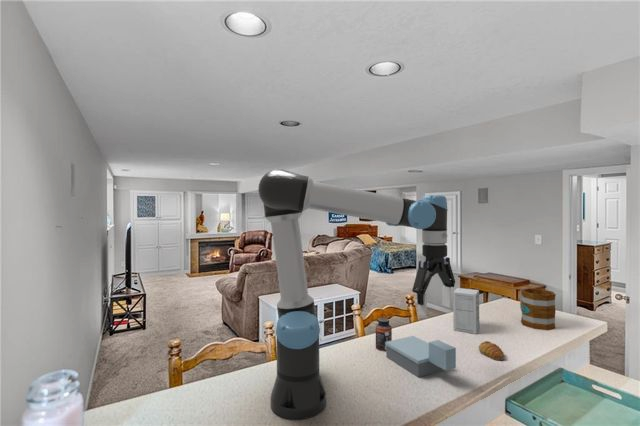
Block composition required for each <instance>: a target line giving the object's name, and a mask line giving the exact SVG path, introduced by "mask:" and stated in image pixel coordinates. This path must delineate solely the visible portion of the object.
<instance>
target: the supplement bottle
mask: <svg viewBox="0 0 640 426" xmlns="http://www.w3.org/2000/svg"><path fill="white" fill-rule="evenodd" d="M377 322H378V323H377V324H376V325H375V350H377V351H379V352H386V345H385V342H387V341H392V340H393V339H392V337H393V336H392V334H393V332H392V331H393V330H392V329H393V328H392V327H393V326H392V325H390V320H389V318H386V317H385V318H384V317H380V318H378V320H377Z"/></svg>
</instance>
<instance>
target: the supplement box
mask: <svg viewBox="0 0 640 426" xmlns="http://www.w3.org/2000/svg"><path fill="white" fill-rule="evenodd" d="M452 296H453V297H452V301H453V306H452V307H453V308H452V311H453V315H452V316H453V317H452V318H453V331H455V332H462V333H468V334H473V335H477V334H478V332H479V331H480V290H479V289H471V288H461V287H457V288H456V289H455V290H454V291H453V295H452Z"/></svg>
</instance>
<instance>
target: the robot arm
mask: <svg viewBox="0 0 640 426" xmlns="http://www.w3.org/2000/svg"><path fill="white" fill-rule="evenodd" d="M257 191H258V195H259V198H260V201H261V202H262V203H263V209H264V217H265V220H267V221H268V222H269V223H270V226H271V233H272V240H273V241H272V242H273V249H274V256H275V263H276V271H277V277H278V285H279V295H280V299H279V301H278V302H277V303H276V309H277V316H278V317H277V318H278V319H277V321H276V327H275V336H276V377H275V380H274V384H273V387H272V390H271V394H270V408H271V410H272V411H273V413H274V414H275V415H277V416H279V417H281V418H285V419H288V420H289V419H291V420H302V419H303V420H304V419H308V418H312V417H314V416H316V415H318V414H320V413H321V412H323V410H324V409H325V407H326V405H327V393H326V389H325V386H324V383H323V381H322V377H321V374H320V334H321V333H320V332H321V328H320V324H319V323H320V322H319V320H318V317H317V315H316V307H315V301H314V300H315V299H314V298H313V297H312V296H311V295H310V294H309V291H308V283H307V275H306V267H305V259H304V253H303V252H304V251H303V243H302V236H301V229H300V221H299V219H300V217H301V216H302V215H303V212H305V211H306V210H308V209H309V210H314V211H319V212H327V213H332V214H338V215H343V216H349V217H352V218H353V217H355V218H360V219H366V220H370V221H375V222H382V223H385V224H386V225H387V226H389V227H390V226H391V227H399V226H400V227H407V228H414V229H418V230H421V231H422V233H421V237H422V238H421V242H422V243H423V244H422V246H421V248H422V249H421V250H422V256H423V257H425V260H419V261H418V267H417V272H416V274H415V278H414V282H413V285H412V292H413V293H415V294H416V296H417V297H416V300H417V301H416V302H417V315H421V316H423V317H427V316H428V314H427V312H428V308H427V307H428V306H427V303H428V302H427V299H428V296H427V295H428V294H427V293H426V292H427V289H428V287H429V285H430V282H431V280H432V278H433V277H434V276H435V275H436V274H437V275H438V277H439V278H440V281H441V282H442V285H443V286H442V285H441V286H442V287H441V289H442V290H441V291H442V292H441V293H442V298H441V300H442V301H441V303H442V307H447V308H451V307H452V288H454V287H455V285H456V279H455V276H454V275H455V274H454V273H453V268H452V266H451V258H450V257H447V256H448V245H447V243H448V236H449V235H448V211H449V210H448V202H447V201H448V200H447V197H446V196H445V195H442V194H441V195H440V194H439V195H438V194H437V195H435V194H434V195H430V194H429V195H423V196H422V197H421V199H420V200H416V199H415V200H413V199H409V198H403V197H399V196H395V195H394V196H392V195H387V194H382V193H378V192H377V193H376V192H372V191H366V190H362V189H355V188H351V187H346V186H340V185H335V184H330V183H329V184H328V183H325V182H319V181H314V180H313V179H312V177H310V176H307V175H302V174H299V173H295V172H291V171H289V170H286V169H280V168H277V169H272V170H269V171H268V172H266V173H265V174H264V175H263V176H262V177H261V179H260V180H259V184H258V190H257Z"/></svg>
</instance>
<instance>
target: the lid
mask: <svg viewBox="0 0 640 426" xmlns="http://www.w3.org/2000/svg"><path fill="white" fill-rule="evenodd" d="M385 345H386V346H388V347H390V348H392V349H393V350H395V351H397V352H398V353H400V354H402V355H404V356H405V357H407V358H409V359H410V360H412V361H414V362H416V363H417V364H420V363H424V362H428V361H429V362H431V363H433V364H435V365H437V366H438V367H440V368H442V369H444V370H443V371H446V372H447V371H450V370H454V369H456V367H457V365H456V363H457V358H456V357H457V356H456V355H457V353H456V351H457V348H456V347H455V346H452V345H450V344H448V343H446V342H443V341H441V340H439V339H437V340H431V341H428V342H427V341H424V340H422V339H421V338H419V337H416V336H414V335H410V336H407V337H402V338H396V339H392V341H387V342H385Z"/></svg>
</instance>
